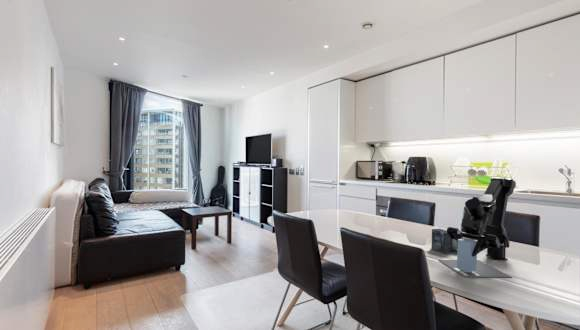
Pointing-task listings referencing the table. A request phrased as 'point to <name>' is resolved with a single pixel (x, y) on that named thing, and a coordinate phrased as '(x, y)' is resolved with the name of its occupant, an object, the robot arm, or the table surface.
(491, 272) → the letter mat
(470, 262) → the dusty blue block
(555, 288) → the table surface
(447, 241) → the box
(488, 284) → the table surface
